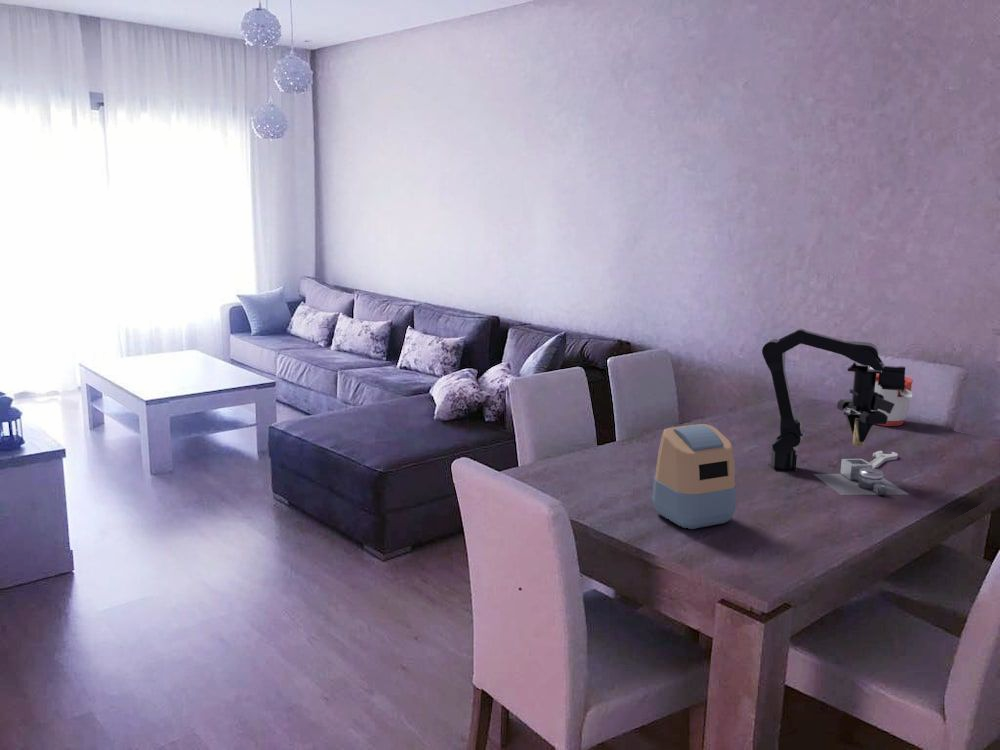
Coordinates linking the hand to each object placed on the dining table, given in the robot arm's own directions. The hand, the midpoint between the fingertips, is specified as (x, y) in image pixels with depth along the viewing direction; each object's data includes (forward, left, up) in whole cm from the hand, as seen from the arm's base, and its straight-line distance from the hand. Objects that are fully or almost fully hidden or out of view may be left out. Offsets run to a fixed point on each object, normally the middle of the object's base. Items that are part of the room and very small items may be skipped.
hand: (858, 440), depth 232 cm
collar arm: (0, -7, -11) cm, 13 cm away
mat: (-1, -6, -12) cm, 13 cm away
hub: (0, -9, -12) cm, 14 cm away
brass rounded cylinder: (0, 0, -1) cm, 1 cm away
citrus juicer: (+41, +61, -12) cm, 75 cm away
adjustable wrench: (+13, +14, -12) cm, 23 cm away
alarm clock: (-56, -30, -12) cm, 64 cm away
